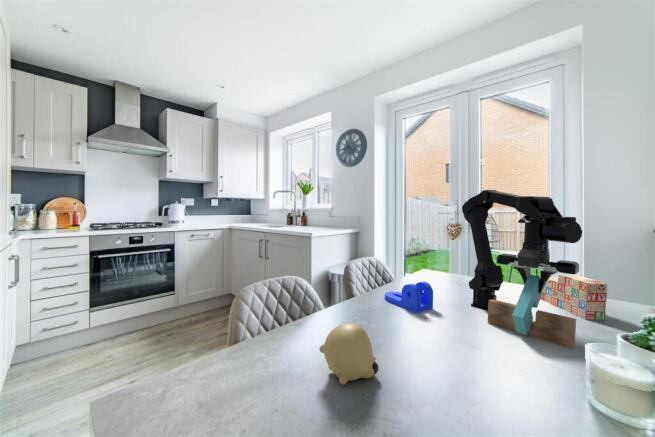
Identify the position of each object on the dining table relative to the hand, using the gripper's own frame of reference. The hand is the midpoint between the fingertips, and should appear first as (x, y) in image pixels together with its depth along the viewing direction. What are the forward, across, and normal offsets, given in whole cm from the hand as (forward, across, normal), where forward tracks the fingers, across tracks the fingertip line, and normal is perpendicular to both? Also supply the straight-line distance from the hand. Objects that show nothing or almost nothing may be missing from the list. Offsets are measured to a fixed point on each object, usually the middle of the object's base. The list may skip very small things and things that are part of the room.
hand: (533, 292), depth 82 cm
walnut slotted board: (+11, 0, -5) cm, 12 cm away
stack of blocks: (+11, +3, +32) cm, 34 cm away
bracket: (+11, -36, -11) cm, 40 cm away
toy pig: (+11, -17, -59) cm, 62 cm away
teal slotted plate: (+5, 0, -3) cm, 6 cm away
